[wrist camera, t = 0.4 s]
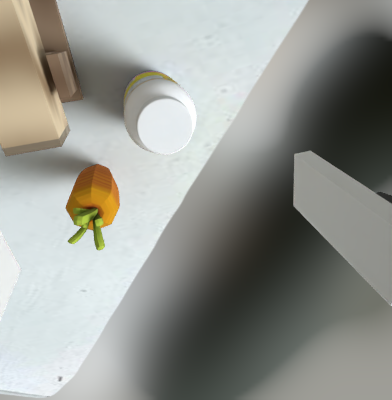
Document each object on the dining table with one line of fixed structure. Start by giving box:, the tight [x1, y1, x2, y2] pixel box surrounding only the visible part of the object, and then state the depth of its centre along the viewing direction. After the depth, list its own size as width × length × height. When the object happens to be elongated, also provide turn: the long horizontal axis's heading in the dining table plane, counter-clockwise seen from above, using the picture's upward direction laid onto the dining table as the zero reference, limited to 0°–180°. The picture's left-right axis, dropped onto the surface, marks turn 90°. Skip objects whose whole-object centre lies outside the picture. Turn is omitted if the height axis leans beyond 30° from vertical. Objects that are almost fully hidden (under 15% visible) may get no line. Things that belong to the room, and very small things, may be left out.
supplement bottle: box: [124, 71, 196, 155], centre depth 32 cm, size 7×7×13 cm
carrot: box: [66, 164, 120, 250], centre depth 33 cm, size 5×5×15 cm
